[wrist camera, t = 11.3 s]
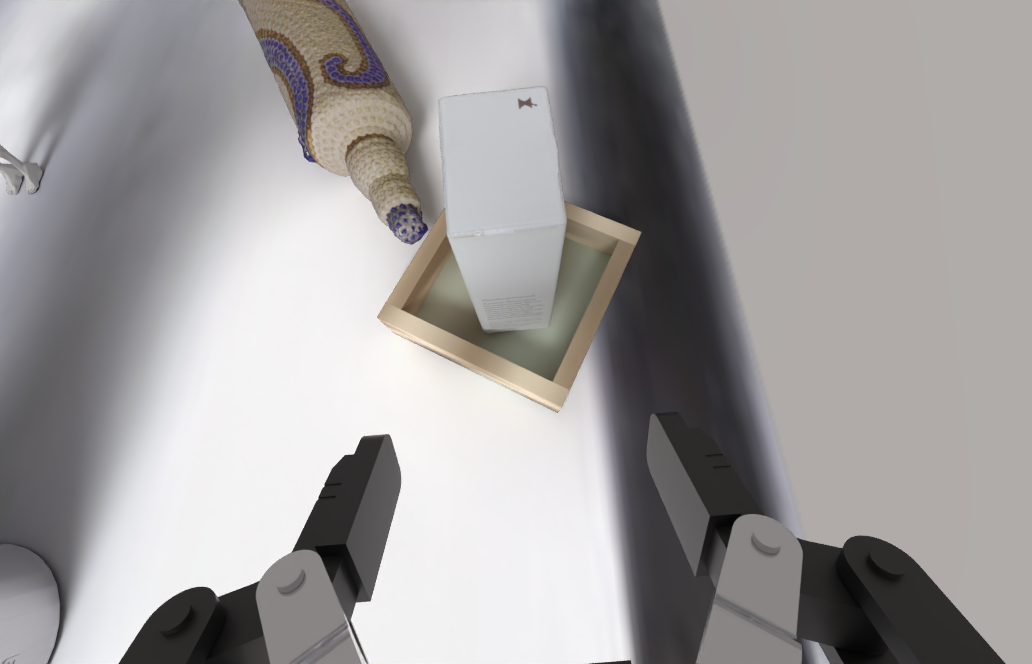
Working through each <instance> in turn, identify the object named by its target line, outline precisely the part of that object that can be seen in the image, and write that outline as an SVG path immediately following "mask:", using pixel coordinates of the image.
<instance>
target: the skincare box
mask: <svg viewBox="0 0 1032 664" xmlns="http://www.w3.org/2000/svg"><path fill="white" fill-rule="evenodd" d="M438 102H439V131H440V148H441V158H442V169H443V182H444V197H445V212H446V226H447V237H448V239H449V242H450V245H451V247H452V250H453V253H454V255H455V258H456V260H457V263H458V266H459V268H460V271H461V274H462V276H463V279H464V282H465V284H466V287H467V290H468V292H469V295H470V298H471V300H472V303H473V306H474V308H475V311H476V313H477V316H478V319H479V321H480V324H481V326H482V329H483V332H484V333H487V334H490V333H497V332H507V331H517V330H528V329H539V328H548V327H549V326H550V322H551V316H552V309H553V304H554V297H555V292H556V286H557V280H558V274H559V269H560V263H561V256H562V250H563V243H564V237H565V231H566V225H567V217H566V210H565V204H564V197H563V190H562V183H561V176H560V169H559V155H558V147H557V142H556V139H555V133H554V127H553V121H552V114H551V108H550V102H549V97H548V92H547V88H546V87H545V86H540V87H531V88H522V89H513V90H503V91H493V92H482V93H473V94H463V95H455V96H449V97H443V98H440V99H439V101H438Z"/></svg>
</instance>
